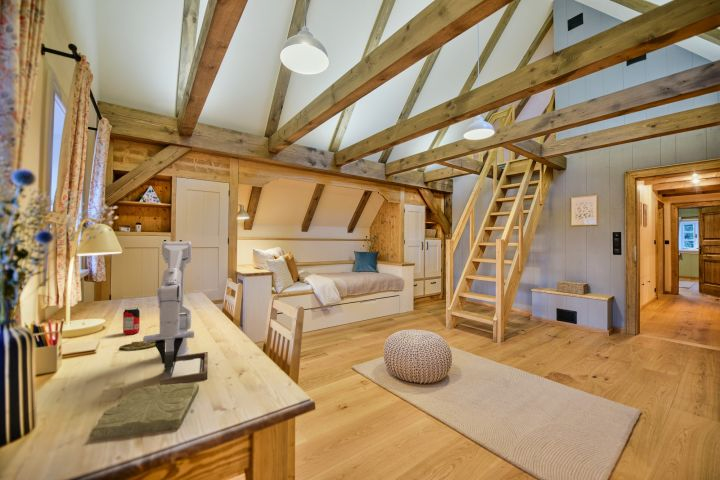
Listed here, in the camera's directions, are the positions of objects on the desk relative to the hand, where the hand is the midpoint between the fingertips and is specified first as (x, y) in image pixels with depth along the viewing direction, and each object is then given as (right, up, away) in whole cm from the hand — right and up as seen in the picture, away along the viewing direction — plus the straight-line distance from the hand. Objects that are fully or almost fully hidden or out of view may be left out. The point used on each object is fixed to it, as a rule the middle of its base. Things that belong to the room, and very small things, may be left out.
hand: (169, 361), depth 106 cm
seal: (-28, -4, +26) cm, 38 cm away
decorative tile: (+10, -5, -24) cm, 26 cm away
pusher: (0, -4, 0) cm, 4 cm away
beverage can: (-45, -4, +45) cm, 64 cm away
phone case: (+5, -5, +2) cm, 7 cm away
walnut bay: (+4, -4, +2) cm, 6 cm away
